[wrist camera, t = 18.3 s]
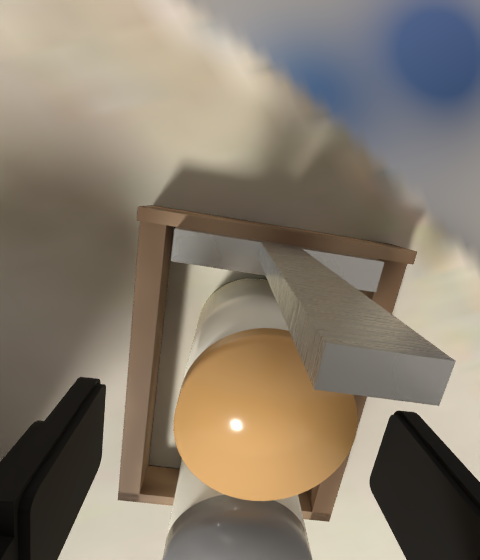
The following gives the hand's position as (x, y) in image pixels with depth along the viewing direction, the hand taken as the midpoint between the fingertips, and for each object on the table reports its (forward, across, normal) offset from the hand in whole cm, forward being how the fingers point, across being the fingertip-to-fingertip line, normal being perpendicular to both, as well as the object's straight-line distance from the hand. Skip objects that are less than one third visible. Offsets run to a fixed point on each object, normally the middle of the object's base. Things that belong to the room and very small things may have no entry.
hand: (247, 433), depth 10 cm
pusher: (+8, -1, -4) cm, 9 cm away
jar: (+8, -1, 0) cm, 8 cm away
